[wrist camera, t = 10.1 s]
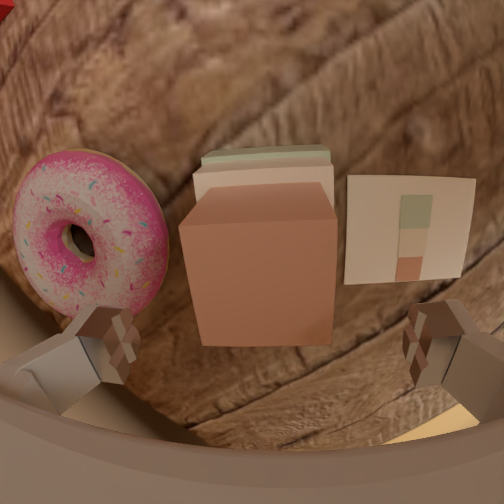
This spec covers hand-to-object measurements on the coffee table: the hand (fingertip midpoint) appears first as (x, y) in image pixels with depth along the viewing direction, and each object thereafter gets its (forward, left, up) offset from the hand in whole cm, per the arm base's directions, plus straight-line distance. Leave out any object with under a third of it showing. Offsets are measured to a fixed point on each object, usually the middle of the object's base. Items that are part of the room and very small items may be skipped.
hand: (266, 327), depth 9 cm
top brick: (0, 0, -7) cm, 7 cm away
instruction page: (-10, +3, -13) cm, 17 cm away
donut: (+14, +2, -14) cm, 19 cm away
